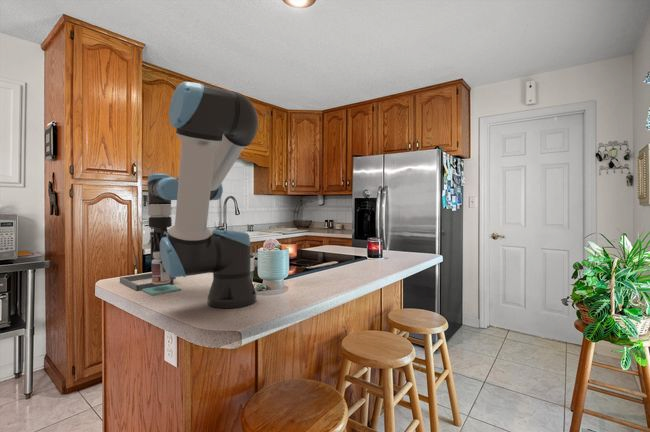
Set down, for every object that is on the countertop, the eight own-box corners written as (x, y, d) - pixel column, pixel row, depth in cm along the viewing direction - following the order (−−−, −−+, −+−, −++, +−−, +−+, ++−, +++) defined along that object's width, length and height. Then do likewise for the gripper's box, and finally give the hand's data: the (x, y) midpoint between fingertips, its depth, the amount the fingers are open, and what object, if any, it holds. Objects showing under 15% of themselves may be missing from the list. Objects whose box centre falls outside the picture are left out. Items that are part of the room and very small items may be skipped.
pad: (181, 290, 123) (181, 288, 123) (152, 295, 116) (152, 293, 116) (169, 285, 130) (169, 284, 130) (142, 290, 123) (142, 289, 123)
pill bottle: (171, 283, 122) (171, 252, 122) (153, 285, 119) (152, 253, 118) (169, 280, 127) (168, 250, 127) (151, 282, 124) (150, 251, 123)
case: (175, 284, 133) (175, 249, 132) (136, 290, 122) (135, 252, 122) (156, 276, 146) (155, 245, 146) (119, 282, 136) (119, 248, 136)
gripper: (181, 216, 118) (182, 281, 119) (160, 215, 131) (161, 273, 132) (159, 217, 113) (160, 285, 114) (139, 215, 126) (141, 276, 127)
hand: (161, 278), depth 123 cm, fingers closed on pill bottle, 6 cm apart
